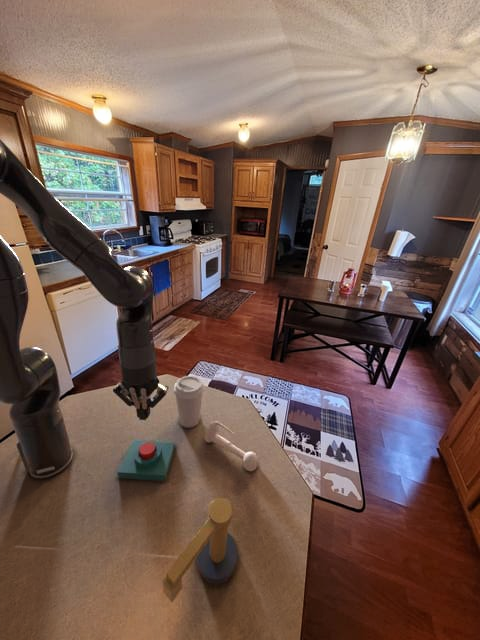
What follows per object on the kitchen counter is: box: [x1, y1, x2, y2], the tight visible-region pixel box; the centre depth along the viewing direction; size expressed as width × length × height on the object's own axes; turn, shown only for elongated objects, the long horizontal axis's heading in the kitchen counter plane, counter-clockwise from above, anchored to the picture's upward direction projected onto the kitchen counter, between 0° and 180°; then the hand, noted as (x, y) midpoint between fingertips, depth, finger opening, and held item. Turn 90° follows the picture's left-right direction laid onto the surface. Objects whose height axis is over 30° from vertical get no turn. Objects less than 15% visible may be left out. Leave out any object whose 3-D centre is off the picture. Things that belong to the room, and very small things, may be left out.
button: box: [139, 442, 156, 459], centre depth 68 cm, size 4×4×2 cm
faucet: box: [203, 420, 259, 472], centre depth 73 cm, size 4×18×10 cm, turn 57°
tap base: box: [196, 527, 238, 586], centre depth 49 cm, size 8×8×13 cm
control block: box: [117, 439, 176, 482], centre depth 69 cm, size 12×10×4 cm
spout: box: [161, 497, 233, 604], centre depth 42 cm, size 14×4×5 cm, turn 143°
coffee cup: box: [173, 375, 205, 429], centre depth 81 cm, size 10×10×15 cm
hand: (144, 417), depth 63 cm, fingers closed
